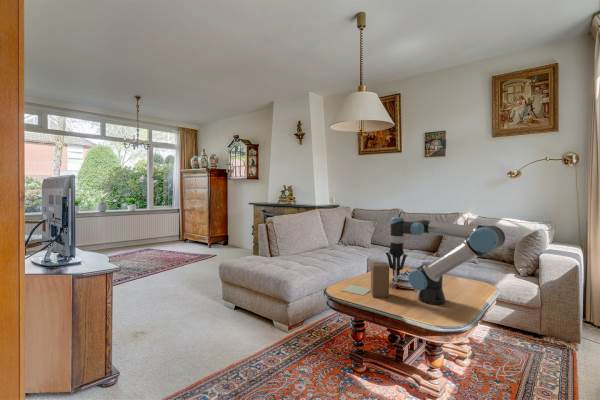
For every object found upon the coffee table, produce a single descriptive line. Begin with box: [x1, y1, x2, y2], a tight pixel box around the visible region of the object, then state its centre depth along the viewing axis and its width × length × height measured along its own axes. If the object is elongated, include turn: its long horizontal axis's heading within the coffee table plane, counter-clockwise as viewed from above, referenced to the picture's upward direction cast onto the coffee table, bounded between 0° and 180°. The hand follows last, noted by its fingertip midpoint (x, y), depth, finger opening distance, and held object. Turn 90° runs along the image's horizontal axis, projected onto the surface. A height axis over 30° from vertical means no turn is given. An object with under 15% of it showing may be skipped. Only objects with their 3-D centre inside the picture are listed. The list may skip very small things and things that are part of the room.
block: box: [370, 261, 390, 299], centre depth 199 cm, size 10×10×20 cm
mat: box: [341, 284, 371, 296], centre depth 209 cm, size 16×14×1 cm
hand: (396, 280), depth 193 cm, fingers closed
